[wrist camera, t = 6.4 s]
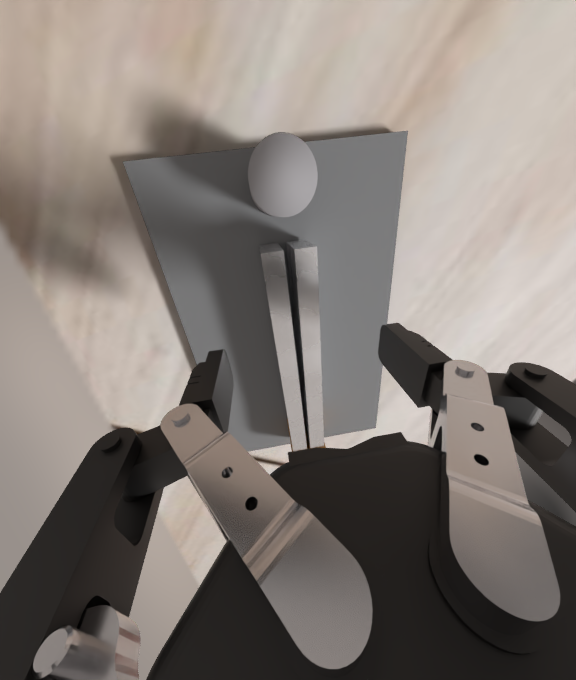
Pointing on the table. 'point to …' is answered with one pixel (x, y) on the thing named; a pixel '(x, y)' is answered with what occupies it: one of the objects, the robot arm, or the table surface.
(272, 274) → the leg
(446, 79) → the table surface
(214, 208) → the mat
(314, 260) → the leg
